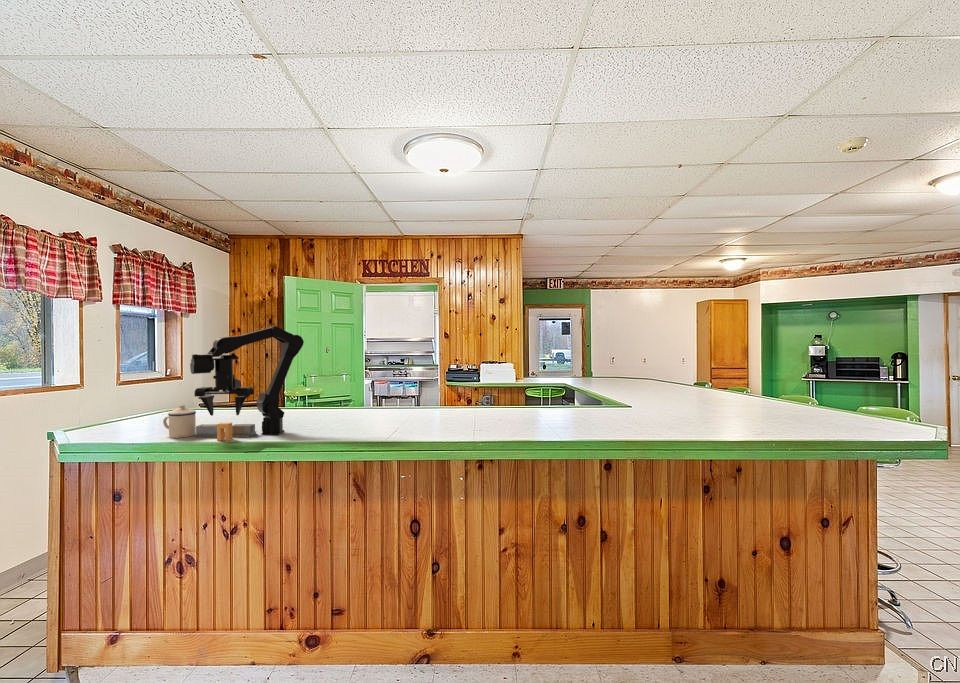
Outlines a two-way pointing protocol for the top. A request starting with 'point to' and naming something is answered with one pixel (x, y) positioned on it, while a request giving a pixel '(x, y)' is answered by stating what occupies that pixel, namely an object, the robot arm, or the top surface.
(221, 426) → the clip
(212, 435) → the rail
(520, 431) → the top surface
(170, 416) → the teacup with lid
